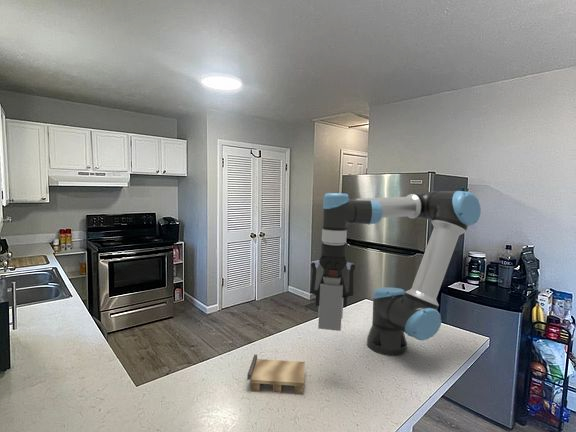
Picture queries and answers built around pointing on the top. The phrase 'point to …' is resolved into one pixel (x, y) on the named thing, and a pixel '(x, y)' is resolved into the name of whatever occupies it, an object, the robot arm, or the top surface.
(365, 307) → the top surface
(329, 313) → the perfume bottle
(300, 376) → the platform
